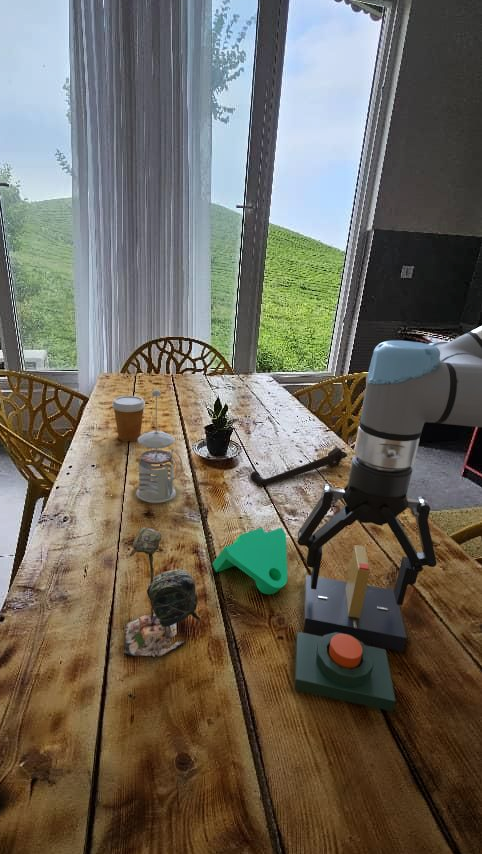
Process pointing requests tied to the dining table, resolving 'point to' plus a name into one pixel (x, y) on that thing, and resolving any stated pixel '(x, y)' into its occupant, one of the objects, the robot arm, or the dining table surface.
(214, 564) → the camera mount
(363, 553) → the olive tan box
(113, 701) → the dining table surface
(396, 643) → the black flat block
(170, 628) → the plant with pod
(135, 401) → the disposable coffee cup
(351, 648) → the release button
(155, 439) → the french press
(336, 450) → the wrench
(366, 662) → the box
